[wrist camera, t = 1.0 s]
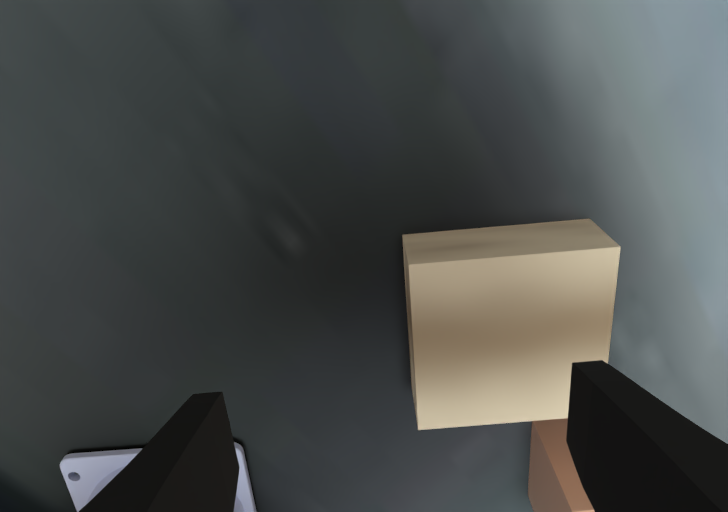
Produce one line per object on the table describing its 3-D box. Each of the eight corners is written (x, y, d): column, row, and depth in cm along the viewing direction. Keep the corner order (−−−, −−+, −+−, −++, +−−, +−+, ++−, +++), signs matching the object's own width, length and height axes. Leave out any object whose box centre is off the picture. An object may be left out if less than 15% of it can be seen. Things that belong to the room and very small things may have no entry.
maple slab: (573, 368, 24) (602, 415, 22) (410, 382, 24) (418, 429, 22) (586, 215, 21) (620, 246, 19) (401, 231, 22) (408, 264, 19)
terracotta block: (622, 487, 27) (678, 586, 22) (527, 493, 27) (563, 594, 22) (634, 410, 25) (697, 502, 20) (531, 418, 25) (571, 511, 20)
